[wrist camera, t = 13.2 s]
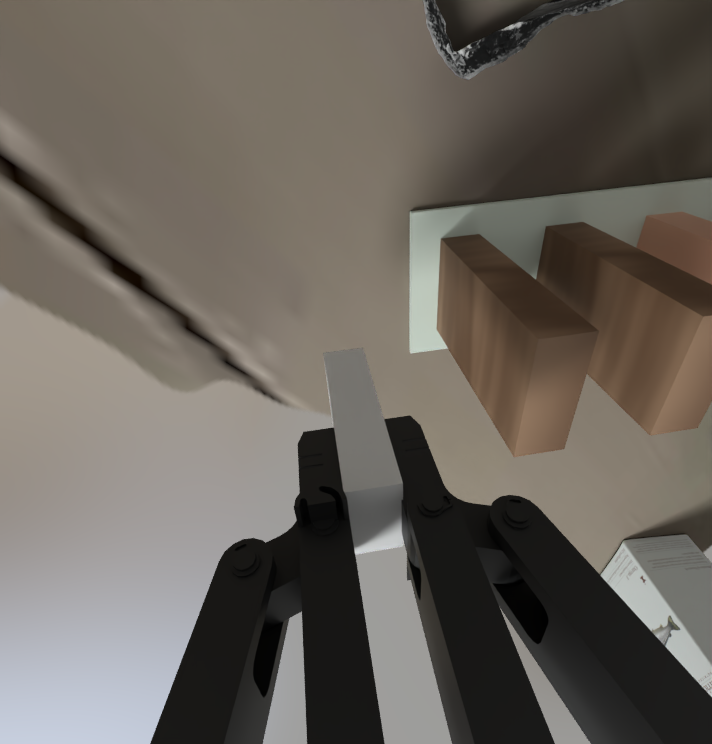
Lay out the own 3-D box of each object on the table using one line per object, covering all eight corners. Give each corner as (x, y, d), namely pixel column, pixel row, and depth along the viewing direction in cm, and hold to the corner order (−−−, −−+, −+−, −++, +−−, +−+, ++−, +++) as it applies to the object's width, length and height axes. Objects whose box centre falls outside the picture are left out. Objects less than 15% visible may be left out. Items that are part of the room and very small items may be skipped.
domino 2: (528, 316, 25) (649, 435, 17) (545, 226, 22) (703, 316, 14) (562, 312, 25) (697, 428, 17) (583, 221, 22) (761, 308, 14)
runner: (409, 211, 21) (411, 212, 20) (907, 155, 23) (914, 156, 22) (409, 350, 25) (410, 353, 25) (823, 294, 27) (827, 296, 27)
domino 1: (436, 329, 24) (514, 456, 16) (440, 238, 21) (537, 339, 13) (470, 324, 24) (564, 449, 16) (479, 233, 21) (599, 331, 13)
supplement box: (620, 538, 41) (733, 692, 31) (687, 532, 42) (817, 678, 32) (592, 580, 45) (682, 728, 35) (653, 573, 47) (758, 715, 36)
